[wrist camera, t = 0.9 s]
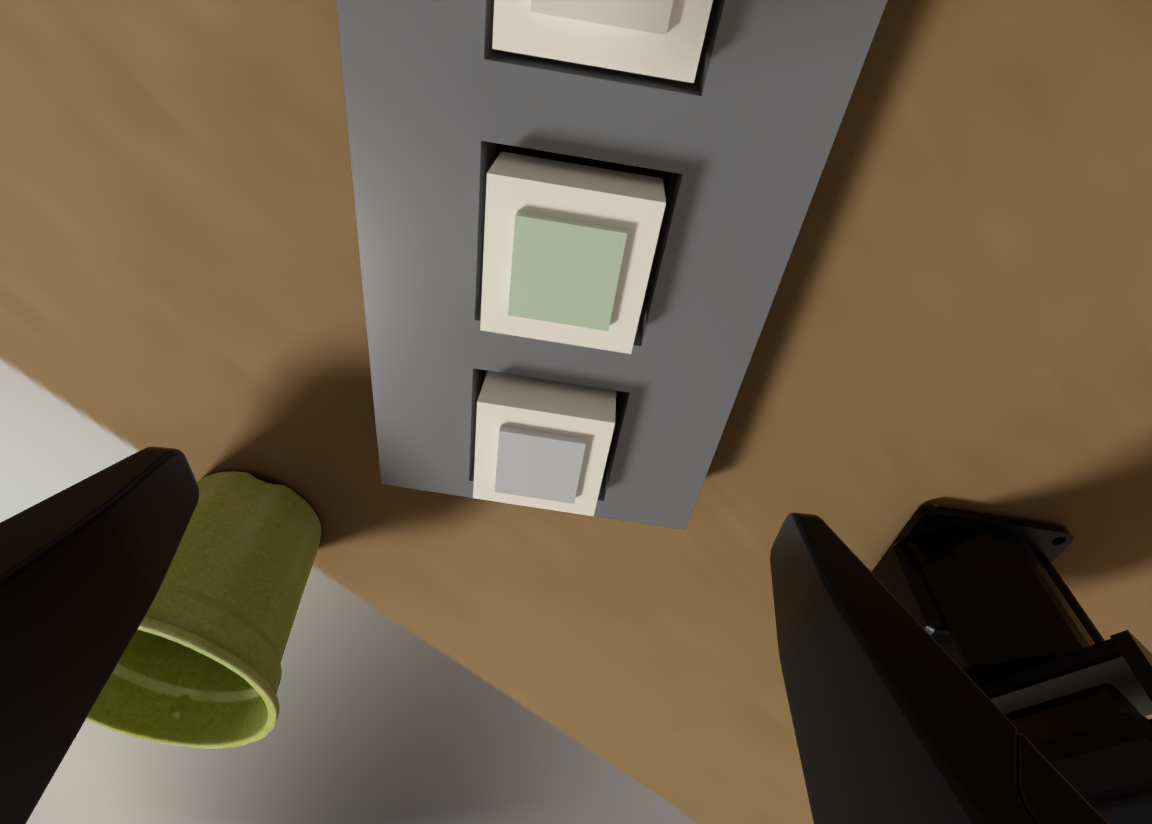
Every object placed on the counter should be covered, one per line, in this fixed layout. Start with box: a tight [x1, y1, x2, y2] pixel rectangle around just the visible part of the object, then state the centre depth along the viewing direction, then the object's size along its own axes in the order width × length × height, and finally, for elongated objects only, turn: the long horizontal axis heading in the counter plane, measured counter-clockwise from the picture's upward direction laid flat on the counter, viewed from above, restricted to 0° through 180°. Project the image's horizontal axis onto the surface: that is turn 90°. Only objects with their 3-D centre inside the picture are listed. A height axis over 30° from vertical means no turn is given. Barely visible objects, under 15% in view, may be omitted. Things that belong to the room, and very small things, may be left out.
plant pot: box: [86, 471, 321, 749], centre depth 25 cm, size 9×9×9 cm
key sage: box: [480, 152, 666, 354], centre depth 16 cm, size 4×4×2 cm
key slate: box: [473, 371, 616, 516], centre depth 21 cm, size 4×4×2 cm
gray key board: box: [336, 0, 888, 530], centre depth 15 cm, size 12×28×2 cm, turn 172°
